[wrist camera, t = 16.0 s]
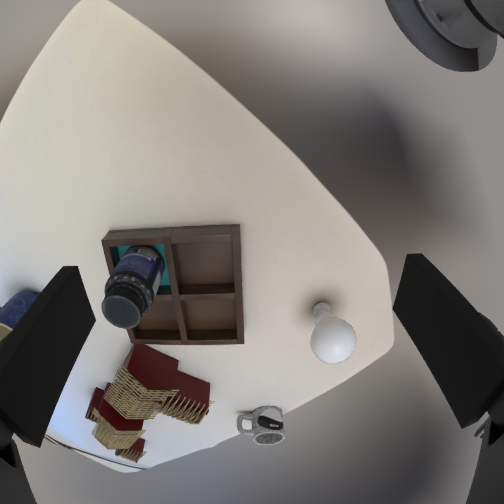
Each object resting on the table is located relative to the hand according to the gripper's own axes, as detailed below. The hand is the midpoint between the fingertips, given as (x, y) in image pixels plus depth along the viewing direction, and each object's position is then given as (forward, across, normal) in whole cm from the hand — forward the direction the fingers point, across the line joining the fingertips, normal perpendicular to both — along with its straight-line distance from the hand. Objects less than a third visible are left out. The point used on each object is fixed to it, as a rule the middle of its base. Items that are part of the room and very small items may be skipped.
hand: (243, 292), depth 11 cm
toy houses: (+27, -25, -51) cm, 63 cm away
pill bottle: (+26, -13, -13) cm, 32 cm away
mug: (+27, +2, -51) cm, 58 cm away
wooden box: (+27, -9, -17) cm, 33 cm away
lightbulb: (+27, +12, -22) cm, 37 cm away
